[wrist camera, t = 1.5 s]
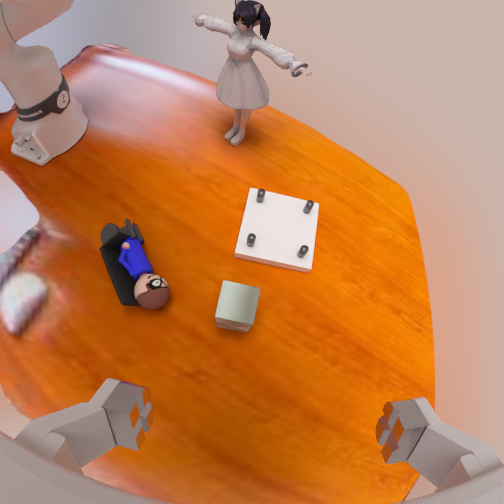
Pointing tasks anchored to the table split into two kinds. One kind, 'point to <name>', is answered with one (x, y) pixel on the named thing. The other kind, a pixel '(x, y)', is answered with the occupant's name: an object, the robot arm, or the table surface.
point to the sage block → (236, 306)
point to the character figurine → (131, 267)
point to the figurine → (246, 63)
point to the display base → (278, 230)
